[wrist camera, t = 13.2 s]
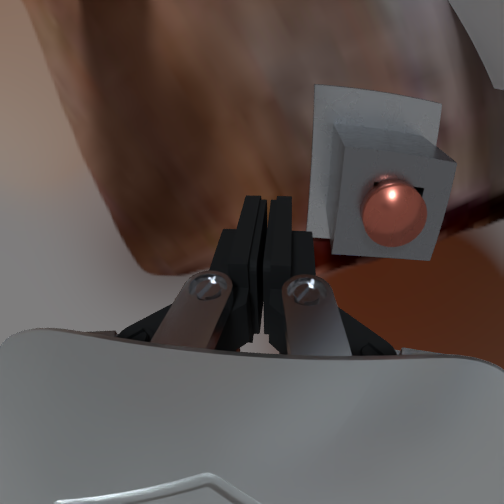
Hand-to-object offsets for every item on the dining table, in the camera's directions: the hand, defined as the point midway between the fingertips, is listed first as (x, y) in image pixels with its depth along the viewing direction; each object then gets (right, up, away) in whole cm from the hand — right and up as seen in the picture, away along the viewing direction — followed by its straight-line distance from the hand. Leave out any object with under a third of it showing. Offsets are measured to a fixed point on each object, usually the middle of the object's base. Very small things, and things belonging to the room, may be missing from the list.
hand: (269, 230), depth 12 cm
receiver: (+13, +9, +21) cm, 26 cm away
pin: (+12, +7, +19) cm, 24 cm away
